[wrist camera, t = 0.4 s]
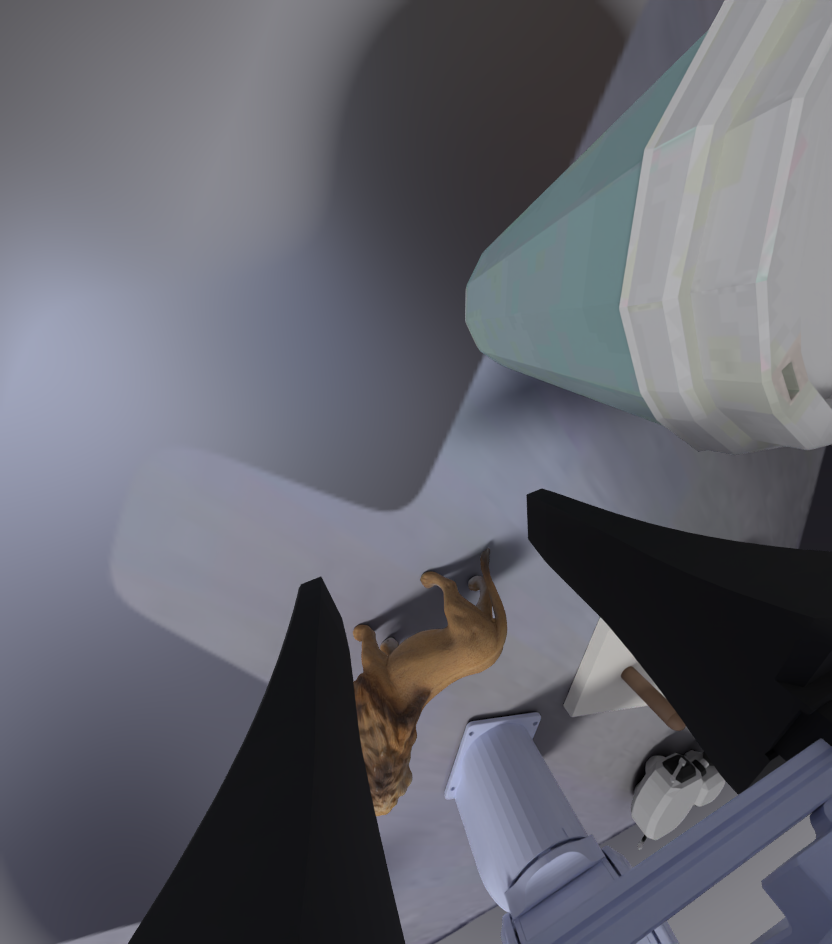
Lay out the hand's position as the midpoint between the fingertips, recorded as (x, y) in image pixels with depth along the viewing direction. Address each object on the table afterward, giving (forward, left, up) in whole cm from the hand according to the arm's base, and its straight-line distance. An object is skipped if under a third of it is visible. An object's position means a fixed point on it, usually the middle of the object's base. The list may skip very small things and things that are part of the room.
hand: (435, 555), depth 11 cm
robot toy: (-37, -46, -11) cm, 60 cm away
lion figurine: (-11, -5, -11) cm, 16 cm away
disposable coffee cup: (+10, -6, -11) cm, 16 cm away
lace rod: (-18, -28, -9) cm, 35 cm away
